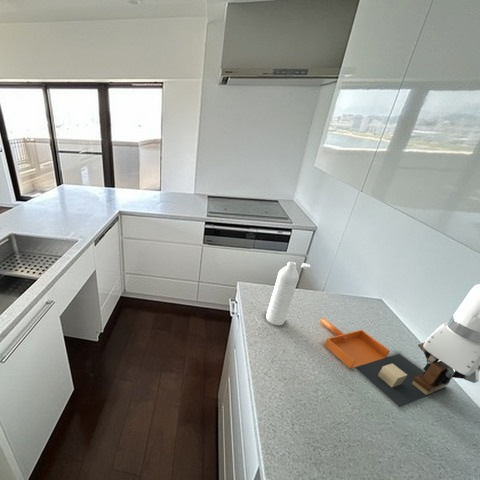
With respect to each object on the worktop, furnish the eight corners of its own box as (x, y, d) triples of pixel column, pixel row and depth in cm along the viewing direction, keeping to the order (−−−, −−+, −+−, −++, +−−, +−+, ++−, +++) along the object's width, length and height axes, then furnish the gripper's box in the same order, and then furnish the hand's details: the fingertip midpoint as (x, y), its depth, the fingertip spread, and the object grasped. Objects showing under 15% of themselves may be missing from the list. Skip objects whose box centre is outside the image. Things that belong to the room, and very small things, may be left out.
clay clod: (386, 372, 77) (392, 363, 76) (401, 384, 74) (407, 374, 72) (377, 375, 76) (383, 366, 75) (391, 387, 73) (398, 378, 71)
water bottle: (266, 323, 94) (283, 265, 84) (265, 312, 100) (280, 256, 90) (291, 329, 92) (312, 270, 82) (288, 317, 98) (308, 261, 88)
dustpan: (385, 358, 83) (390, 350, 81) (350, 369, 78) (354, 361, 77) (335, 319, 98) (338, 312, 97) (303, 326, 94) (305, 319, 93)
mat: (398, 354, 84) (399, 353, 84) (446, 388, 74) (446, 388, 74) (354, 367, 79) (354, 367, 79) (399, 407, 68) (399, 406, 68)
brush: (429, 376, 77) (444, 355, 73) (445, 388, 74) (461, 367, 70) (410, 383, 74) (425, 362, 71) (426, 395, 71) (442, 374, 67)
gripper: (525, 351, 59) (479, 402, 67) (440, 307, 73) (409, 353, 81) (507, 358, 57) (462, 410, 65) (423, 311, 71) (393, 358, 78)
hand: (433, 378), depth 73 cm, fingers closed on brush, 2 cm apart
